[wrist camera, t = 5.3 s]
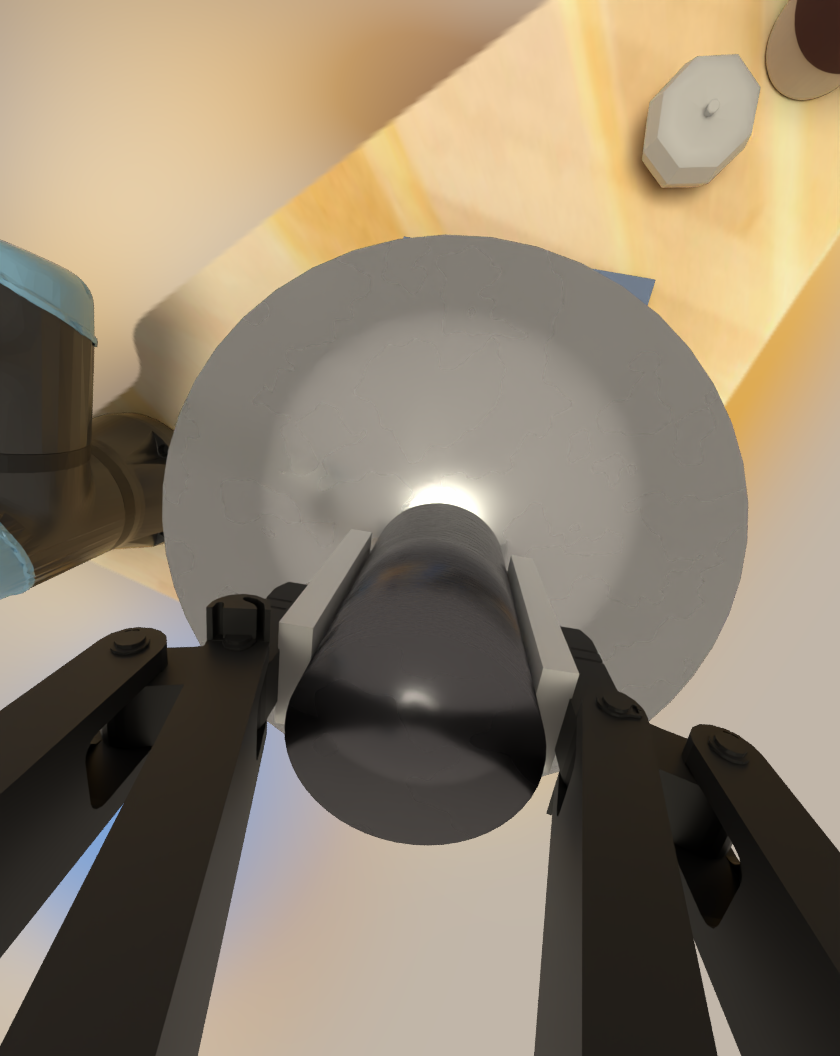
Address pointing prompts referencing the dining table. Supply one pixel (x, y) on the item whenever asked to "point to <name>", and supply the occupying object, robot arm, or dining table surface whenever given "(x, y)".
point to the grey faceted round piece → (700, 121)
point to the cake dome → (456, 510)
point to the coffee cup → (805, 49)
